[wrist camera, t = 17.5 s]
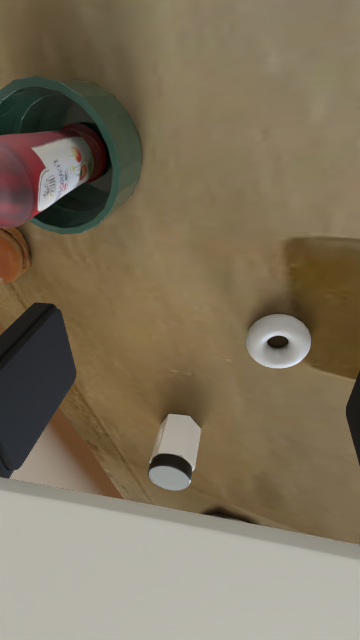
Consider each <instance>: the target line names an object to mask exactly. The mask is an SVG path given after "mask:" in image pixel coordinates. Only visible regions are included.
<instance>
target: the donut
mask: <svg viewBox="0 0 360 640" xmlns="http://www.w3.org/2000/svg"><path fill="white" fill-rule="evenodd" d="M273 336H284V337H286V338H287V339H288V341H289V342H288V344H287V345H286V346H284V347H281V348H274V347H271V346H269V345H268V344H267V340H268V339H269V338H271V337H273ZM310 344H311V337H310V334H309V331H308V329H307V328H306V326H305V325H304V324H303V323H302V322H301V321H299V320H298V319H296V318H294V317H292V316H288V315H285V314H272V315H269V316H265V317H263V318H261V319H259V320H258V321H256V322H255V323H254V324H253V325H252V326H251V327H250V329H249V331H248V334H247V336H246V347H247V349H248V352H249V354H250V355H251V356H252V357H253V358H254V359H255V360H256V361H257V362H258V363H260V364H262V365H264V366H267V367H271V368H285V367H290V366H293V365H295V364H297V363H299V362H300V361H301V360H302V359H303V358H304V357H305V356H306V355H307V353H308V351H309V349H310Z"/></svg>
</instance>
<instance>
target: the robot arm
mask: <svg viewBox="0 0 360 640" xmlns="http://www.w3.org/2000/svg"><path fill="white" fill-rule="evenodd" d="M75 378H76V368H75V364H74V360H73V356H72V352H71V348H70V344H69V340H68V336H67V332H66V328H65V324H64V320H63V316H62V313H61V311H60V309H57V307H56V306H55V305H54V304H48V303H34V304H33V305H32V306H31V307H29V308H28V309H27V310H26V311H25V312H24V313H23V314H22V315H21V316H20V317H19V318H18V319H17V320H16V321H15V322H14V323H13V324H12V325H11V326H10V327H9V328H8V329H6V330H5V331H4V332H3V333H2V334H1V335H0V640H360V545H357V544H352V543H348V542H343V541H338V540H333V539H328V538H324V537H318V536H313V535H308V534H303V533H298V532H292V531H287V530H282V529H277V528H271V527H266V526H261V525H256V524H251V523H245V522H240V521H235V520H230V519H224V518H219V517H214V516H209V515H203V514H198V513H193V512H187V511H182V510H177V509H171V508H166V507H161V506H155V505H150V504H145V503H139V502H134V501H128V500H123V499H117V498H112V497H107V496H101V495H96V494H91V493H85V492H79V491H74V490H68V489H63V488H57V487H52V486H46V485H41V484H35V483H29V482H24V481H18V480H13V479H9V478H10V476H11V474H12V473H13V471H14V470H17V469H19V468H20V467H21V465H22V464H23V463H24V461H25V459H26V458H27V456H28V455H29V453H30V451H31V450H32V448H33V447H34V445H35V443H36V442H37V440H38V439H39V437H40V435H41V434H42V432H43V431H44V429H45V427H46V426H47V424H48V423H49V421H50V420H51V418H52V416H53V414H54V413H55V412H56V410H57V408H58V407H59V405H60V404H61V402H62V400H63V399H64V397H65V396H66V394H67V392H68V391H69V389H70V388H71V386H72V384H73V383H74V381H75ZM346 417H347V421H348V425H349V428H350V432H351V436H352V439H353V443H354V447H355V450H356V454H357V457H358V461H359V465H360V372H359V374H358V377H357V380H356V382H355V385H354V387H353V390H352V393H351V395H350V398H349V400H348V403H347V406H346Z"/></svg>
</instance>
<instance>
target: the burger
mask: <svg viewBox="0 0 360 640" xmlns="http://www.w3.org/2000/svg"><path fill="white" fill-rule="evenodd" d="M30 265H31V257H30V255H29V251H28V246H27V243H26V241H25V239H24V238H23V235H22V234H21V233H20V231H18V230H17V229H16V228H9V229H7V228H0V283H10V282H13V281H15V280H16V279H17V278H18V277H19V276H20V275H22V274H24V273H25V272H27V270H28V269H29V268H30Z"/></svg>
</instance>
